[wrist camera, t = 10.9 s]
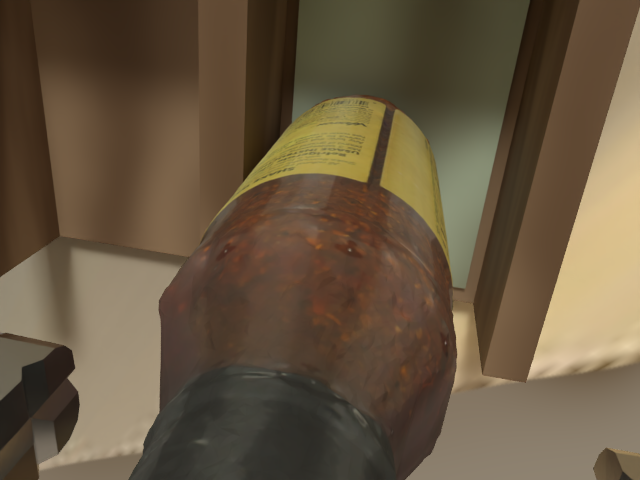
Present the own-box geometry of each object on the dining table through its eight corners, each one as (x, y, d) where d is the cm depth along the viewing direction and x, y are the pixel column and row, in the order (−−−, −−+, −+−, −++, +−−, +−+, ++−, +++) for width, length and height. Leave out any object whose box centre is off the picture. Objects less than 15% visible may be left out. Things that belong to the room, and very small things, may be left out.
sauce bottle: (260, 195, 24) (-241, 798, 6) (323, 58, 21) (-253, 427, 3) (396, 266, 24) (294, 1051, 6) (476, 139, 21) (695, 895, 4)
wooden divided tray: (41, 224, 28) (-48, 280, 23) (-10, -135, 21) (-150, -172, 16) (506, 299, 25) (525, 382, 20) (608, -89, 19) (676, -116, 13)
